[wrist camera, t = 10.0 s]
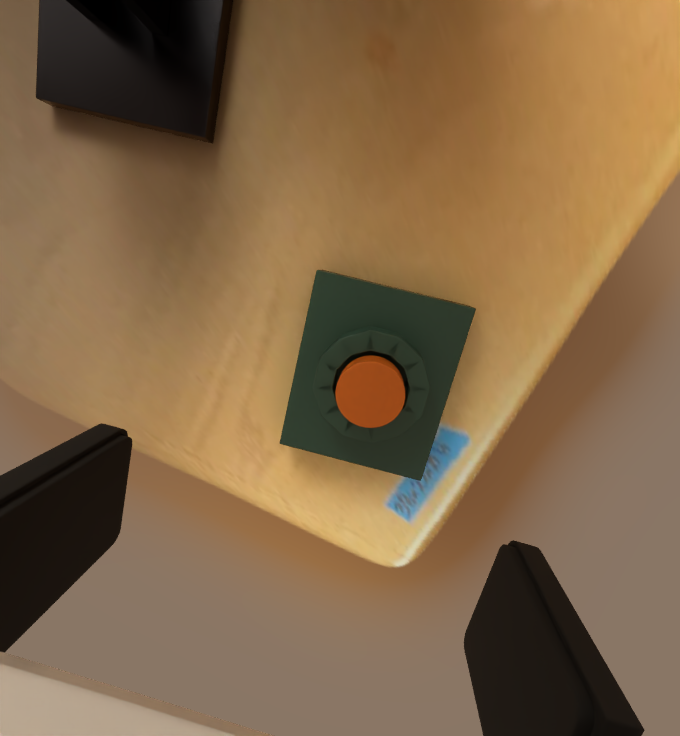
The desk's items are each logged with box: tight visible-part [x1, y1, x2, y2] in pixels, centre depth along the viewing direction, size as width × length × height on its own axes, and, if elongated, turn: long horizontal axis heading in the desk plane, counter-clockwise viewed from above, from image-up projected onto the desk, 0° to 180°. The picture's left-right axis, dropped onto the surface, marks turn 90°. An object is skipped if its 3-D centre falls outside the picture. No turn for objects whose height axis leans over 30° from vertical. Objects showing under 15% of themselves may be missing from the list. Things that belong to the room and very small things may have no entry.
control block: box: [280, 270, 476, 481], centre depth 26 cm, size 12×10×4 cm
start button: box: [335, 355, 405, 428], centre depth 24 cm, size 4×4×2 cm
